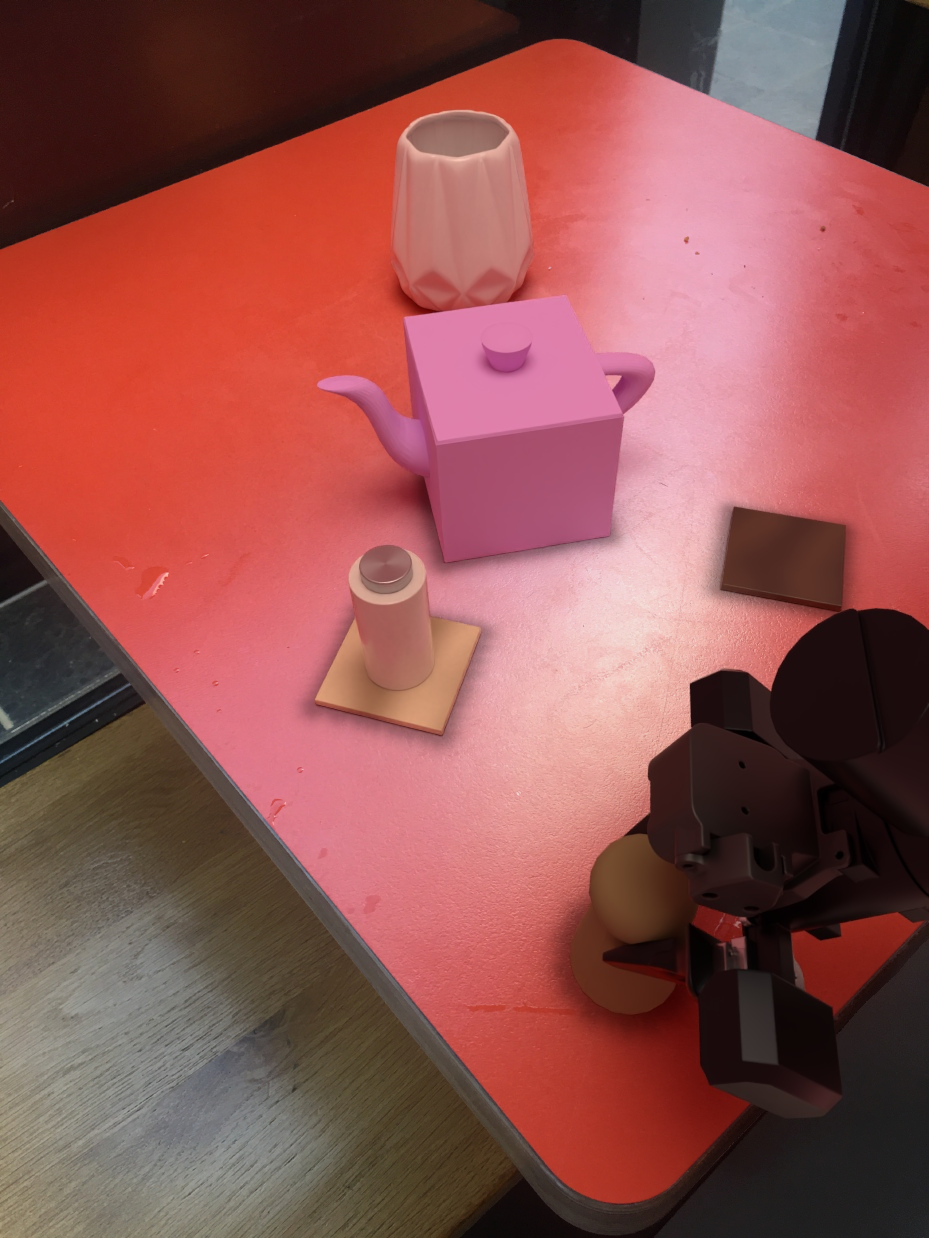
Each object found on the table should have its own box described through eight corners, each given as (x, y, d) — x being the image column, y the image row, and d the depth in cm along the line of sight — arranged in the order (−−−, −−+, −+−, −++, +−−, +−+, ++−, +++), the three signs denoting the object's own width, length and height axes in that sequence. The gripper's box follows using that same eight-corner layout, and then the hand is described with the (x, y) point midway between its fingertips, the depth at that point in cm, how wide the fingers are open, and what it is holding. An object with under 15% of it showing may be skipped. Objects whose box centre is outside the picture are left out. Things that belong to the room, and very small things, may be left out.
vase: (497, 238, 100) (496, 88, 89) (556, 304, 92) (564, 147, 80) (375, 270, 97) (357, 118, 86) (425, 340, 89) (413, 183, 77)
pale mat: (481, 632, 66) (481, 626, 66) (442, 735, 61) (441, 730, 60) (363, 606, 68) (362, 601, 68) (315, 704, 63) (314, 699, 62)
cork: (650, 890, 54) (678, 798, 45) (699, 992, 50) (739, 913, 41) (553, 924, 52) (562, 836, 44) (595, 1030, 49) (615, 957, 40)
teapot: (331, 449, 79) (303, 301, 68) (614, 406, 82) (630, 257, 71) (351, 578, 70) (322, 431, 59) (670, 525, 72) (699, 375, 61)
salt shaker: (448, 652, 64) (440, 553, 56) (409, 701, 62) (395, 604, 54) (391, 625, 66) (376, 525, 58) (351, 672, 63) (329, 573, 56)
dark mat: (843, 530, 71) (846, 524, 71) (840, 611, 66) (842, 606, 66) (732, 511, 73) (733, 506, 72) (720, 589, 68) (721, 584, 67)
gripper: (780, 546, 39) (513, 679, 48) (834, 1011, 27) (468, 1062, 37) (913, 674, 44) (649, 770, 53) (1007, 1109, 32) (647, 1131, 42)
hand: (609, 907), depth 46 cm, fingers closed on cork, 5 cm apart
